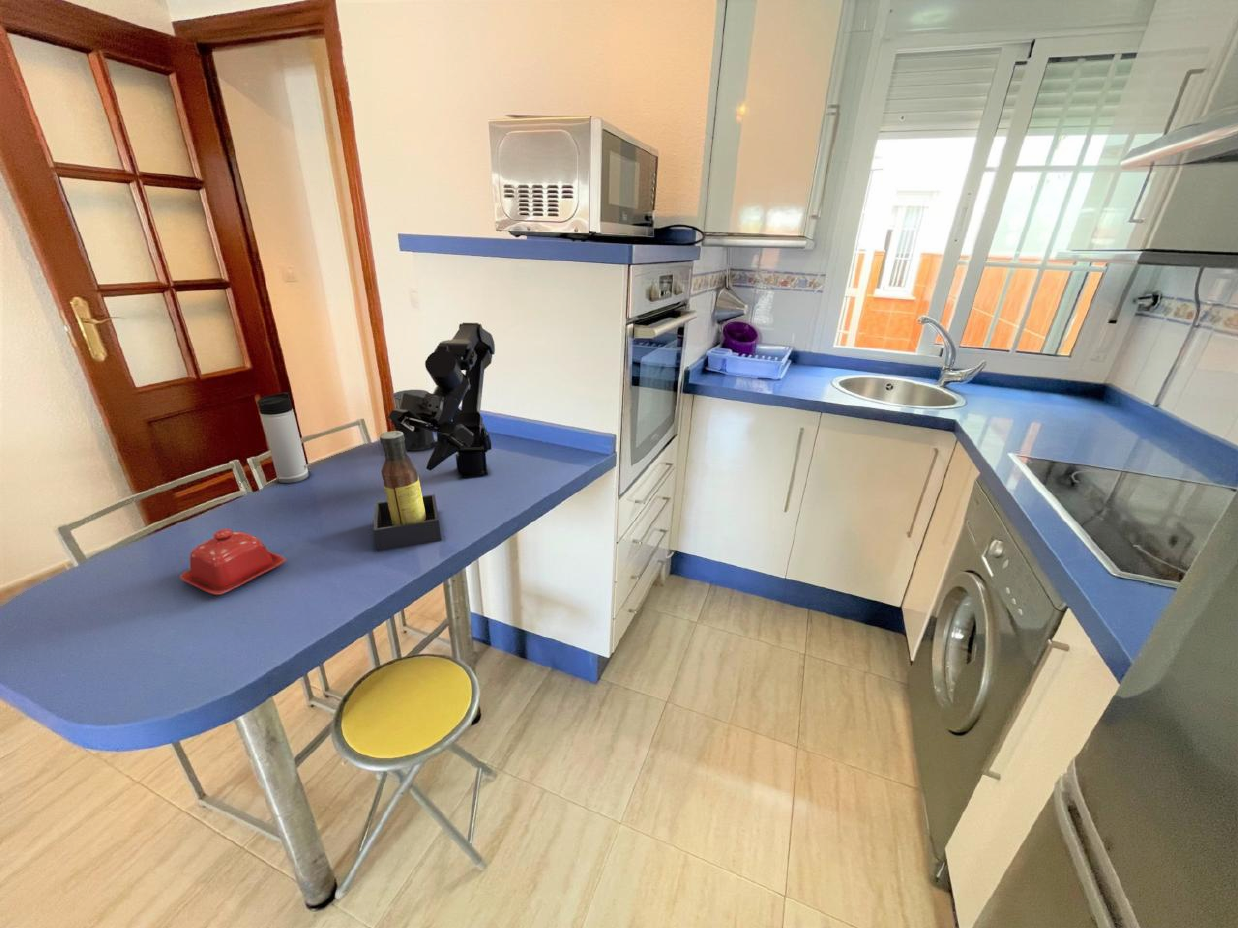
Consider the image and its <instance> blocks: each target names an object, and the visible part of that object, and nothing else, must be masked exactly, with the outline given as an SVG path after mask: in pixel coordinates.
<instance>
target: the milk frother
mask: <svg viewBox="0 0 1238 928" xmlns="http://www.w3.org/2000/svg"><path fill="white" fill-rule="evenodd" d="M403 393H405V394H410V395H414V396H418V397H423V398H424V396H425V394H427V393H430V392H429V391H427V390H424V389H405V390H399V391H396V392H394V393H393V394H392V395H391V396H392V397H393V401H394V407H395V408H394V409H396V408H400V403H401V399H402V394H403ZM404 410H407V409H404ZM408 411H409V410H408ZM410 412H411V411H410ZM411 413H413V414H414V412H411ZM414 415H415V414H414ZM415 416H417V415H415ZM417 417H418V418H419V419H420V417H419V416H417ZM426 426H429V425H426ZM416 434H417V435H419V437H418V438H417V439H416V440H415V441H414V443H413V444H412V445H411V446H410V447H409V449H408V450H407V451H423V450H426V449H429V448H432V447H434V446H436V444H437V440H435V437H434V432H432V431H428V430H424V429H422V430H421V431H420V432H418V433H416Z"/></svg>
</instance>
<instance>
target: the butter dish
mask: <svg viewBox="0 0 1238 928" xmlns="http://www.w3.org/2000/svg"><path fill="white" fill-rule="evenodd" d="M286 559H287V558H285V557H283V556H281V555H279V554H277V553H274V552H272V551H269V550H268V549H267V548H266V546H265V544H264V543H263V541H261V540H260V539H259V538H257V537H256V536H253V534H249V533H246V532H242V531H241V532H240V531H233V530H232V529H229V528H223V529H219V530H217V531H215V532H214V533H213V538H211V539H208V540H207V541H205V542H203V543H201V544H199V545H197V546H196V547H195V548H193V550H192V551H191V552H190V555H189V563H190V569H188V570H187V571H184V573H182V574H180V576H179V578H180V580H182V581H183V582H186V583H187V584H190V585H192V586H194V587H196V588H197V589H200V590H201V591H204V592H206V593H208V594H211V595H215V596H221V595H224V594H226V593H228V592H230V591H232V590H234V589H236V588H238V587H240V586H242V585H243V584H245V583H248V582H249V581H252V580H254V579H256V578H258V577H259V576H262V575H263V574H266V573H267V572H269V571H271V570H273V569H276V568H277V567H280V566H281V565H283V564H284V563H285V562H286Z"/></svg>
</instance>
